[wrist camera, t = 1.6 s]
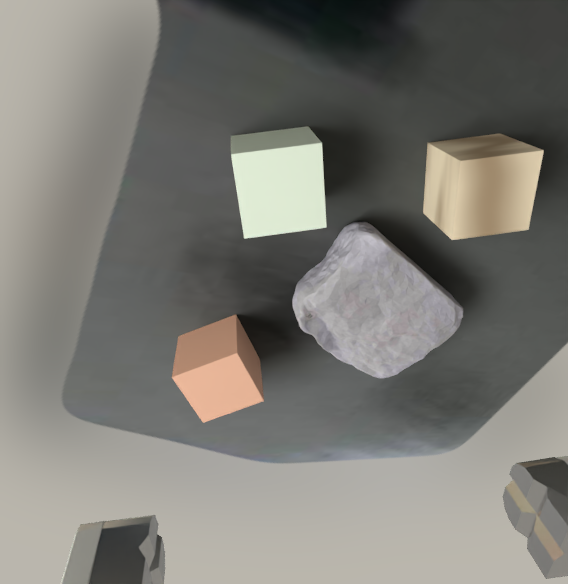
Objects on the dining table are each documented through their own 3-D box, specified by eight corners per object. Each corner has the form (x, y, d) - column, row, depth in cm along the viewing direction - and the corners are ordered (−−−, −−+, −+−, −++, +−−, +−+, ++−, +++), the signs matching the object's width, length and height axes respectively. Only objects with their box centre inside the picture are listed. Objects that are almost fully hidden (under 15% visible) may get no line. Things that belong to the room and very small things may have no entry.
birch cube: (499, 133, 30) (543, 150, 26) (489, 203, 33) (528, 229, 29) (427, 142, 30) (460, 160, 26) (422, 212, 33) (452, 240, 28)
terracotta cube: (235, 313, 35) (237, 352, 31) (259, 358, 38) (263, 400, 34) (178, 335, 36) (171, 377, 31) (205, 378, 38) (203, 422, 34)
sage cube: (308, 126, 29) (321, 142, 24) (313, 200, 31) (326, 227, 27) (230, 135, 28) (231, 154, 24) (242, 209, 31) (244, 238, 27)
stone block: (373, 353, 41) (464, 290, 36) (379, 395, 38) (481, 330, 33) (274, 284, 37) (361, 202, 32) (269, 323, 33) (368, 236, 28)
